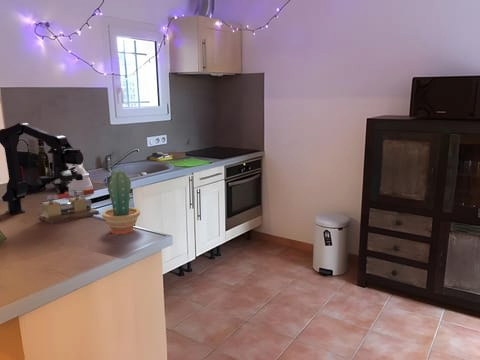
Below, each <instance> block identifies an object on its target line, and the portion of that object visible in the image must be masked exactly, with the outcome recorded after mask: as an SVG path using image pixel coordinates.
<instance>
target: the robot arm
mask: <svg viewBox="0 0 480 360" xmlns="http://www.w3.org/2000/svg"><path fill="white" fill-rule="evenodd" d="M24 134H25V135H28V136H30V137H32V138H35V139H37V140H40V141H42V142H44V144H46V145H47V147H49V148H50V149H49V150H48V151H47V154H52V165H51V168H52V172H53V174H51V175H52V176H51V177H50V176H46V175H44V176H38V177H37V179H36V182H37V184H38V185H39V184H40V185H41V186H46V185H53V186H54V188H55V189H56V191H57V194H59V193H65V191H66V189H67V188H66V187H67V185H68V184H69V183H71V182H70V181H73V179H75V180H77V181H79V180H83V176H82V174H79V173H77V171H76V170H71V171H69V169H68V166H67V164H77V165H81V164H82V162H83V163H84V154H83V153H82V152H81V149H74V148H73V147H72V145H71V144H70V142H69V141H68V138H67V137H66V136H65V135H62V134H57V133H51V132H48V131H45V130H43V129H41V128H38V127H36V126H33V125H31V124H30V123H28V122H18V123H16V124H14V125H11V126H9V127H6V128H1V129H0V145H1V146H2V147H3V148H4V154H5V161H6V166H7V174H8V181H7V184H6V192H5V193H3V195H2V196H1V200H2V202H5V203H6V202H7V203H6V204H7V210H6V211H5V213H6V214H8V215H9V216H10V215H16V214H21V213H22V214H23V213H26V211H25V210H24V209H23V203H22V199H26V198H25V197H26V194H27V193H28V190H29V187H28V181H27V180H24V179H23V177H22V176H21V175H22V173H21V169H20V161H19V155H18V146H19V143H20V137H21V136H22V135H24Z"/></svg>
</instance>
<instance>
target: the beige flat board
mask: <svg viewBox="0 0 480 360" xmlns="http://www.w3.org/2000/svg"><path fill="white" fill-rule="evenodd" d="M99 214H100V211H99V210H97V209H94V208H92V207H91V210H87V211H85V212H80V213H73V212H70V211H68V214H66V215H62V214H61V216H60V217H55V218H50V219H48V218H46V217H43V213H42V214H38V217H39V219H41V220H43V221H44V222H47V223H50V224H51V225H54V224H58V223H63V222H67V220H68V221H72V219H73V220H76V219H82V218H86V217H90V216H91V217H92V216H96V215H99Z"/></svg>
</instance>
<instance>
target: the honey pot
mask: <svg viewBox="0 0 480 360" xmlns="http://www.w3.org/2000/svg"><path fill="white" fill-rule="evenodd" d="M75 166H76V168H75V169H74V170H76V171H77V173H79V174H82V176H83V180H79V181H77V180H75V179H73V181H70V182H71V183H69V186H68V187H69V188H68V193H69V197H71V198H75V196H74V191H81V190H85V189H91V188H92V189H94V187H93V183H92V182H91V178H90V177H89V175H90V174H89V172H87V171H86V169H85V168H84V166H83V167H82V166H80V165H77V164H75ZM92 195H93V194H89V195H80V196H79V197H82V198H84V197H87V196H88V197H89V196H92Z"/></svg>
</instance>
